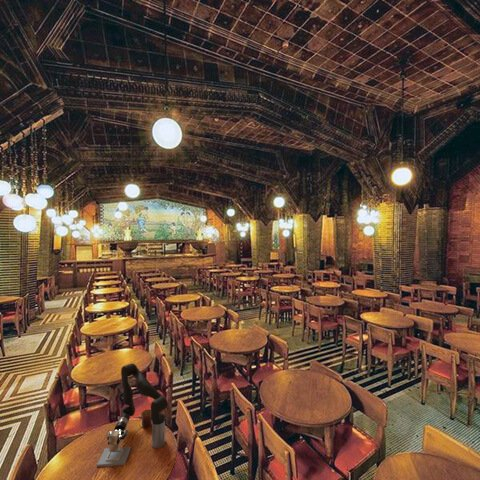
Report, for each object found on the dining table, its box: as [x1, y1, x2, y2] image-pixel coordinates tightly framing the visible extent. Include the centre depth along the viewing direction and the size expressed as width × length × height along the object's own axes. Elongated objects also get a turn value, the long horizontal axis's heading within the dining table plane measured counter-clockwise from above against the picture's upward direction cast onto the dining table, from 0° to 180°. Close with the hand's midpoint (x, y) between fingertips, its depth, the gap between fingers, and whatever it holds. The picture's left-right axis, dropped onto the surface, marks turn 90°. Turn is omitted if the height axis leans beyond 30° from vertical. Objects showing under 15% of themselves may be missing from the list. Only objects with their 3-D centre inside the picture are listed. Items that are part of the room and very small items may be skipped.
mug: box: [140, 408, 152, 429], centre depth 223 cm, size 12×9×10 cm
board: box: [96, 446, 132, 468], centre depth 189 cm, size 18×14×2 cm
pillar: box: [108, 430, 120, 452], centre depth 190 cm, size 5×5×11 cm
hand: (113, 443), depth 187 cm, fingers closed on pillar, 5 cm apart
